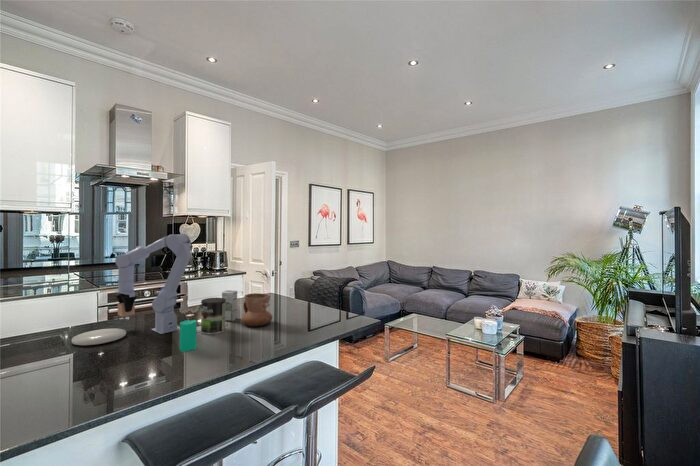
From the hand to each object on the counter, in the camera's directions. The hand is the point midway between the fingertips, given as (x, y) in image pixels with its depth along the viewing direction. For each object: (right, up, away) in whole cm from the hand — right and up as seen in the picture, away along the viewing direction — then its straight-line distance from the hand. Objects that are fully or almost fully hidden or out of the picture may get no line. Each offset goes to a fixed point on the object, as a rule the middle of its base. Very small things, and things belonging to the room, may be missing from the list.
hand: (126, 310), depth 151 cm
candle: (+39, -10, -22) cm, 45 cm away
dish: (-2, -9, -13) cm, 16 cm away
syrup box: (+40, -9, +18) cm, 45 cm away
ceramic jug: (+56, -10, +12) cm, 58 cm away
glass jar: (+40, -9, 0) cm, 41 cm away
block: (0, -2, 0) cm, 2 cm away
